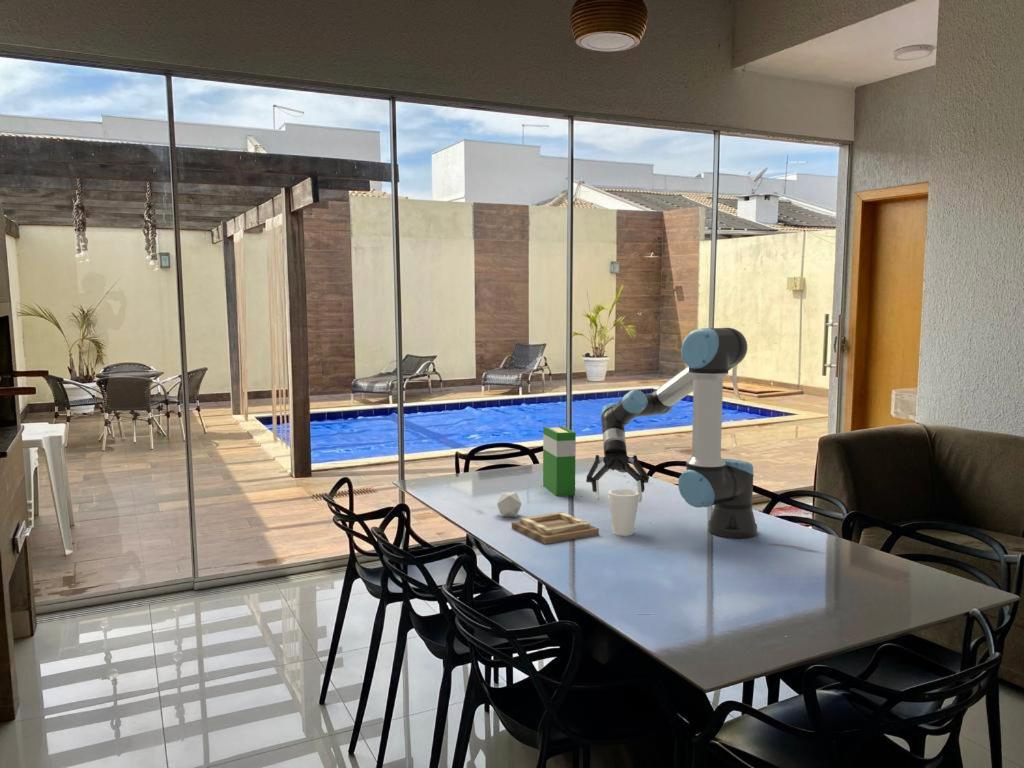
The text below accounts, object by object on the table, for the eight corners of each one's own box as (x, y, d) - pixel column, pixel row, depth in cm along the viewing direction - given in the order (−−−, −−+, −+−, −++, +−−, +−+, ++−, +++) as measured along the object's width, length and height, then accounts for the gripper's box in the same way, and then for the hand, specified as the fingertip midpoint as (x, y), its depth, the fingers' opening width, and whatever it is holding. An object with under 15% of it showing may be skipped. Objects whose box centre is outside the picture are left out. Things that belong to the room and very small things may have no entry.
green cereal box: (543, 486, 319) (543, 426, 316) (560, 485, 320) (561, 425, 318) (556, 496, 302) (556, 433, 299) (575, 495, 303) (575, 432, 301)
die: (512, 522, 268) (527, 497, 270) (490, 508, 269) (505, 484, 271) (512, 524, 276) (526, 500, 278) (491, 511, 277) (505, 487, 279)
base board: (598, 534, 251) (598, 523, 251) (544, 544, 241) (544, 532, 241) (563, 519, 268) (563, 509, 268) (511, 528, 258) (511, 517, 258)
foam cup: (637, 529, 257) (638, 489, 256) (639, 537, 248) (639, 496, 247) (607, 528, 258) (608, 488, 257) (608, 536, 249) (608, 495, 248)
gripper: (650, 451, 272) (656, 506, 259) (576, 451, 273) (579, 505, 259) (653, 438, 266) (660, 494, 253) (578, 438, 267) (580, 493, 253)
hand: (619, 500), depth 256 cm, fingers open, 13 cm apart
